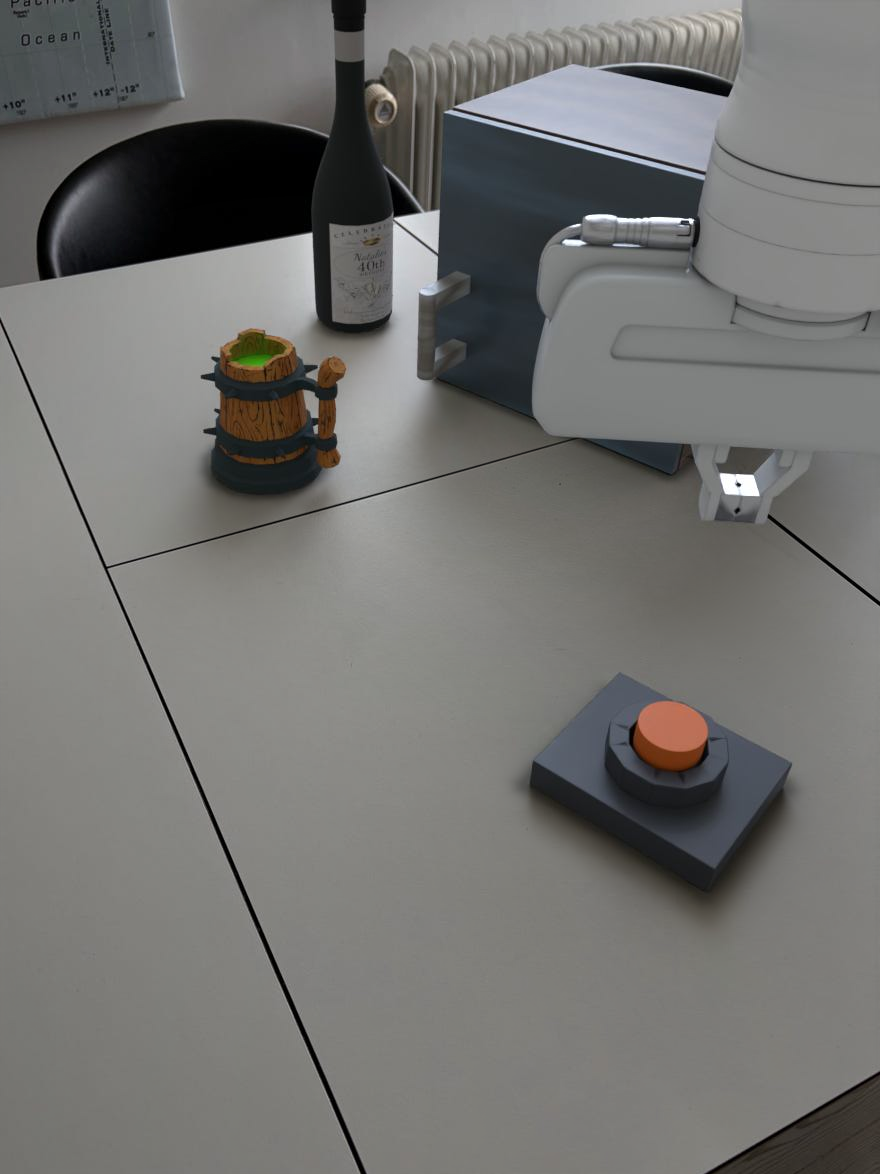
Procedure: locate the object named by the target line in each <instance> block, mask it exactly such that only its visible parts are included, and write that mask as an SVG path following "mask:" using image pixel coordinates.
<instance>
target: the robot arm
mask: <svg viewBox="0 0 880 1174" xmlns="http://www.w3.org/2000/svg"><path fill="white" fill-rule="evenodd" d="M740 13H741V28H742V29H741V30H742V42H741V43H742V44H741V55H740V60H739V65H738V68H737V69H738V70H737V73H736V77H735V79H734V82H733V85H732V88H731V90H730V92H729V94H728V96H727V97H728V99H727V100H726V102H725V104H724V106H723V108H722V111H721V113H720V115H719V117H718V120H717V123H716V127H715V131H714V136H713V141H712V146H711V151H710V156H709V161H708V165H707V170H706V175H705V180H704V185H703V189H702V194H701V198H700V203H699V208H698V209H699V210H698V215H697V216H696V217H695V218H692V219H691V218H668V217H650V218H642V219H641V218H636V219H634V218H629V219H627V218H617V217H616V216H614V215H607V214H597V215H589V216H584V217H583V219H582V223H581V224H577V225H573V226H569V227H567V228H565V229H563V230H561V231H560V232H558V233H557V234H555V235H554V236H553V237H552V238H551V239H550V240H549V242H548V243H547V244H546V246H545V248H544V250H543V252H542V254H541V258H540V263H539V272H538V281H537V290H536V294H537V301H538V304H539V307H540V309H541V311H542V312H543V314H544V315H545V316H546V319H545V323H544V326H543V330H542V334H541V338H540V342H539V347H538V352H537V357H536V363H535V368H534V375H533V384H532V410H533V415H534V417H535V418H534V419H535V420H536V421H537V422H538V424H539V425H540V426H541V428H542V429H543V430H544V432H545V433H546V434H548V435H549V436H554V437H562V438H563V437H564V438H580V439H584V438H597V439H614V440H631V441H648V442H665V443H682V444H691V448H692V452H693V456H694V457H693V460H694V463H695V466H696V468H697V470H698V473H699V475H700V479H701V480H702V484H701V487H700V491H699V496H698V510H699V516H700V519H701V521H704V522H705V521H706V522H716V523H717V522H718V523H739V524H740V523H741V524H753V525H765V523H766V522H767V519H768V516H769V513H770V509H771V506H772V503H773V500H774V498H777V497H778V496H779V495H780V494H782V493H783V492H784V491H785V490H787V488H789V487H790V486H791V485H792V484H793V483H794V482H796V481H797V480H798V479H799V478H800V477H802V475H804V474H805V473H806V472H807V471H808V470H809V468H810V466H811V462H812V460H813V457H814V454H815V452H818V453H819V452H821V453H836V454H852V455H853V454H854V455H868V456H869V455H871V456H880V0H741V11H740ZM576 235H580V240H568V238H570V237H573V236H576ZM731 447H735V448H749V449H750V448H751V449H767V450H773V453H772V454H771V455H770V456H769V457H768V458H767V459H766V460H765V461H764V462H763V463H762V464H761V465H760V466H759V467H758V469H757V470H756V471H754V472H753V473H752V474H735V473H726V472H725V473H724V472H720V471H719V468H718V465H717V464H725V463H727V460H728V457H729V453H730V449H731Z"/></svg>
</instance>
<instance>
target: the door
mask: <svg viewBox="0 0 880 1174" xmlns="http://www.w3.org/2000/svg"><path fill="white" fill-rule="evenodd" d="M441 139H442V140H441V160H440V161H441V163H440V165H441V166H440V188H439V190H440V191H439V192H440V193H439V214H438V215H439V217H438V218H439V219H438V241H437V242H438V243H437V245H438V246H437V266H436V268H437V269H436V270H437V273H436V281H434V282H432V283H430V284H428V285H425V286H424V287H422V288H420V289H419V291H418V311H417V312H418V313H417V314H418V316H417V350H416V351H417V353H416V354H417V357H416V377H417V379H419V380H421V381H431V380H433V379H435V378H437V379H439V380H442V381H444V382H447V383H449V384H451V385H454V386H456V387H459V388H462V389H463V390H465V391H468V392H471V393H473V394H476V395H478V396H481V397H482V398H485V399H488V400H490V401H492V402H495V403H497V404H499V405H502V406H504V407H507V408H509V409H512V410H514V411H516V412H518V413H521V414H524V415H526V416H529V417H531V418H533V419H536V418H535V417H534V415H533V410H532V384H533V375H534V368H535V363H536V357H537V352H538V347H539V342H540V338H541V334H542V330H543V326H544V323H545V319H546V316H545V315H544V314H543V312H542V311H541V309H540V307H539V304H538V301H537V294H536V290H537V281H538V272H539V263H540V258H541V254H542V252H543V250H544V248H545V246H546V244H547V243H548V242H549V240H550V239H551V238H552V237H553V236H554V235H555V234H557V233H558V232H560V231H561V230H563V229H565V228H567V227H569V226H573V225H577V224H581V223H582V219H583V217H584V216H589V215H597V214H607V215H614V216H616V217H617V218H627V219H629V218H634V219H636V218H641V219H642V218H650V217H668V218H691V219H692V218H695V217H696V216H697V215H698V210H699V209H698V208H699V203H700V198H701V194H702V189H703V185H704V180H705V175H702V174H698V173H694V172H690V171H686V170H682V169H678V168H675V167H671V166H667V165H663V164H659V163H655V162H651V161H647V160H643V159H640V158H636V157H632V156H628V155H624V154H620V153H616V152H612V151H608V150H605V149H601V148H597V147H593V146H589V145H585V144H581V143H577V142H574V141H570V140H566V139H562V138H558V137H554V136H550V135H546V134H542V133H539V132H535V131H531V130H527V129H523V128H519V127H515V126H511V125H507V124H504V123H500V122H496V121H492V120H488V119H484V118H480V117H476V116H472V115H469V114H465V113H461V112H457V111H453V110H452V109H449V110H445V111H443V113H442V136H441ZM568 240H580V235H576V236H573V237H570V238H568ZM583 439H585V440H587V441H589V442H591V443H594V444H596V445H599V446H602V447H604V448H606V449H609V450H611V451H614V452H616V453H618V454H621V455H623V456H625V457H628V458H631V459H632V460H635V461H637V462H640V463H643V464H645V465H647V466H650V467H652V468H655V469H657V470H660V471H661V472H664V473H667V474H669V475H673V474H674V473H675V472H676V471H677V468H678V463H679V459H680V454H681V450H682V446H683V444H682V443H665V442H648V441H631V440H614V439H597V438H583Z"/></svg>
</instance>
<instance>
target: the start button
mask: <svg viewBox="0 0 880 1174" xmlns="http://www.w3.org/2000/svg"><path fill="white" fill-rule="evenodd" d="M677 702H678V701H677ZM677 702H672V701H661V702H655V703H652V704H650V705H648V706H647V707H645V708H644V709H643V710H642V711H641V713H640V715H639V717H638V721H637V725H636V729H635V733H634V737H633V745H634V748H635V750H636V752H637V754H638V755H639V757H640V758H641V759H642V760H643V761H645V762H646V763H647V764H649V765H651V766H653V767H655V768H657V769H660V770H665V771H672V772H679V771H684V770H687V769H690V768H692V767H693V766H695V765H696V764H697V763H698V762H699V760H700V758H701V756H702V753H703V750H704V746H705V743H706V740H707V737H708V727H707V724H706V722H705V720H704V719H703V717H702V716H701V715H700V714H699V713H698V712H696V711H695V710H694V709H695V708H694V709H692V708H690V707H688V706H686V705H684V704H681V703H677Z"/></svg>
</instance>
